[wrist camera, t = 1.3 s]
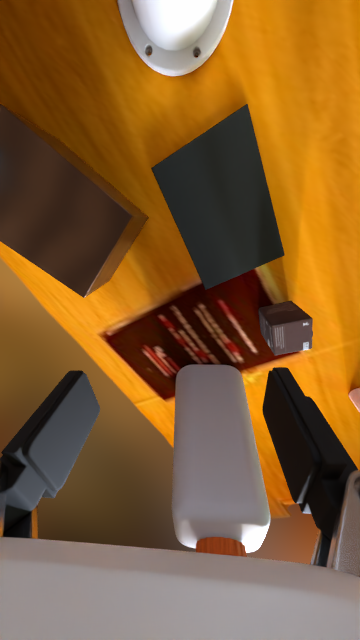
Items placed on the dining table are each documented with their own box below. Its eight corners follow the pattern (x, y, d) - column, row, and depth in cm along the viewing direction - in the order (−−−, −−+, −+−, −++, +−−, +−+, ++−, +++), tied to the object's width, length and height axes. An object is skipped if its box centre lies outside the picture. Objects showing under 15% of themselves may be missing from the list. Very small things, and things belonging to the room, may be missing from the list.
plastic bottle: (178, 406, 50) (162, 584, 26) (175, 361, 44) (149, 545, 19) (236, 408, 49) (279, 597, 24) (243, 362, 42) (310, 560, 17)
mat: (151, 168, 28) (151, 168, 27) (246, 105, 24) (247, 103, 24) (205, 288, 35) (205, 289, 35) (283, 254, 32) (284, 255, 31)
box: (257, 306, 36) (271, 325, 30) (291, 299, 35) (313, 317, 29) (260, 333, 39) (274, 356, 32) (292, 327, 38) (312, 349, 31)
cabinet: (29, 223, 32) (-26, 223, 24) (59, 139, 27) (0, 104, 19) (109, 281, 36) (84, 298, 28) (149, 217, 31) (132, 215, 23)
